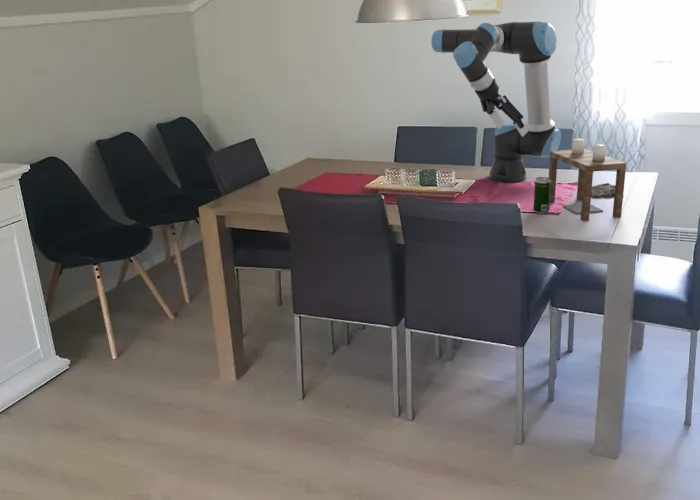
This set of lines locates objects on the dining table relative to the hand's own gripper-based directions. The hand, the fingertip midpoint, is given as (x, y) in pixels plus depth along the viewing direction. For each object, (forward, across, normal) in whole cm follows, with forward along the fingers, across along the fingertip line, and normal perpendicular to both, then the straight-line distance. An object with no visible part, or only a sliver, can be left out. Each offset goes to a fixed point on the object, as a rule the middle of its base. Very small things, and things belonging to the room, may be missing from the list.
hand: (512, 129), depth 249 cm
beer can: (+26, +10, -12) cm, 31 cm away
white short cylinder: (+21, +9, +12) cm, 26 cm away
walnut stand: (+35, +15, 0) cm, 38 cm away
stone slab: (+50, +2, +16) cm, 52 cm away
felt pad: (+35, +15, 0) cm, 38 cm away
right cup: (+20, +20, +11) cm, 31 cm away
